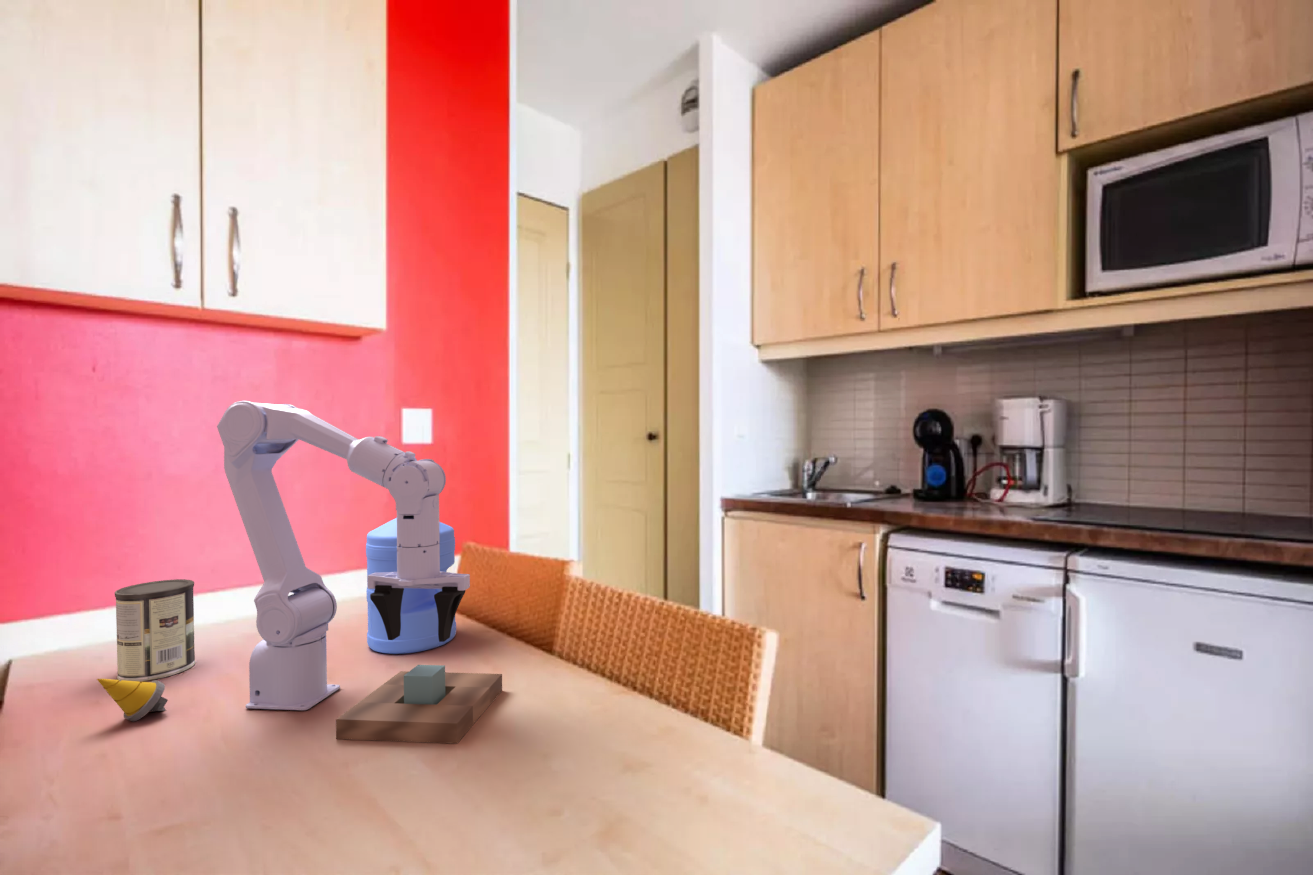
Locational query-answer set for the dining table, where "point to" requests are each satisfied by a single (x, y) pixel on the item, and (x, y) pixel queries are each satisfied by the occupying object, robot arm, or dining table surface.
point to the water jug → (406, 595)
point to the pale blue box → (424, 685)
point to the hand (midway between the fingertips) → (419, 638)
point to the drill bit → (136, 696)
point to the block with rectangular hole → (420, 711)
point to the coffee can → (155, 629)
